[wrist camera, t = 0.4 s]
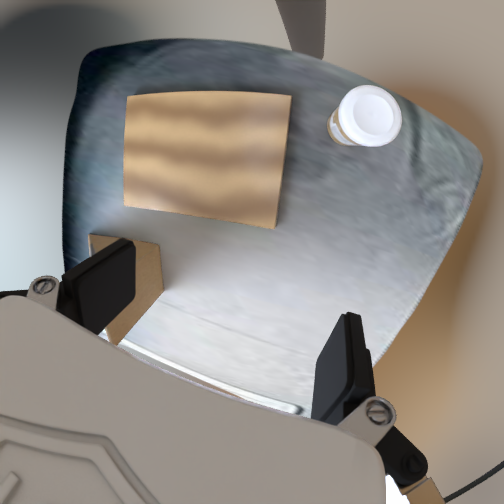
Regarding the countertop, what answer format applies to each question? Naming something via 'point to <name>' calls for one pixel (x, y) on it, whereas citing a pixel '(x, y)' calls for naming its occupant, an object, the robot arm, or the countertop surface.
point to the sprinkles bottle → (365, 118)
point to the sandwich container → (146, 284)
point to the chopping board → (207, 154)
